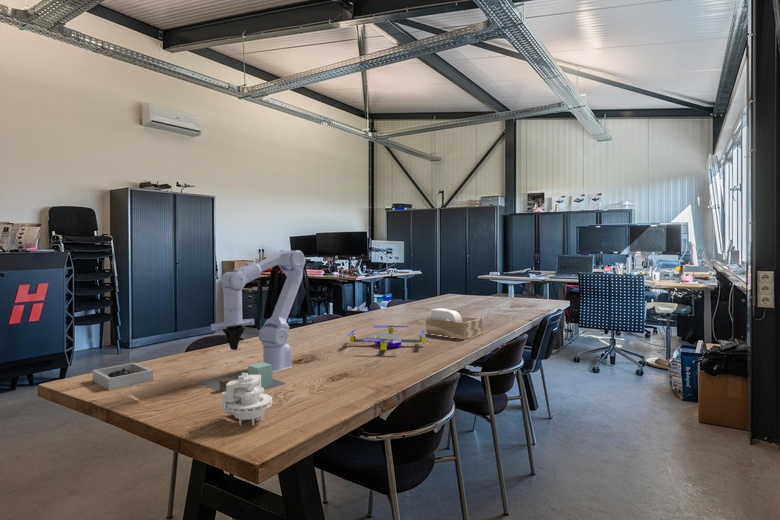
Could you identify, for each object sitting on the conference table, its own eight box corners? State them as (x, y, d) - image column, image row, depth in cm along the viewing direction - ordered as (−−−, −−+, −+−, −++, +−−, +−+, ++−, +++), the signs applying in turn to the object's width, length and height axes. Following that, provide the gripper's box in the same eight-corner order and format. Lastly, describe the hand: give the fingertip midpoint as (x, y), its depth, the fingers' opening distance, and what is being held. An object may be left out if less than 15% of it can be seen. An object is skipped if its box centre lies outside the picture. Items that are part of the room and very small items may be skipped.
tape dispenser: (431, 334, 225) (431, 309, 225) (445, 331, 232) (444, 307, 232) (456, 338, 213) (455, 312, 213) (469, 335, 220) (469, 310, 220)
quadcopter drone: (357, 334, 217) (357, 324, 216) (426, 335, 213) (426, 325, 213) (342, 350, 183) (342, 338, 183) (424, 352, 180) (424, 339, 179)
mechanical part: (253, 432, 106) (252, 382, 105) (213, 425, 110) (212, 378, 110) (281, 415, 116) (281, 370, 116) (244, 410, 120) (243, 366, 120)
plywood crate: (445, 329, 236) (445, 314, 236) (482, 334, 222) (482, 318, 221) (426, 334, 223) (426, 318, 223) (464, 340, 209) (464, 323, 209)
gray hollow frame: (135, 372, 159) (134, 362, 159) (153, 380, 149) (152, 370, 149) (92, 380, 149) (92, 370, 149) (109, 390, 139) (108, 379, 139)
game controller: (106, 376, 152) (120, 362, 154) (119, 385, 154) (133, 371, 156) (102, 383, 143) (118, 369, 145) (117, 393, 145) (131, 379, 147)
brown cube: (227, 388, 138) (227, 378, 138) (231, 389, 136) (231, 380, 136) (219, 390, 136) (219, 380, 136) (223, 391, 134) (223, 382, 134)
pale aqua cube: (263, 382, 143) (262, 362, 143) (272, 385, 140) (272, 364, 140) (248, 386, 139) (248, 365, 139) (257, 389, 136) (257, 368, 136)
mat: (246, 372, 158) (246, 370, 158) (287, 385, 142) (287, 383, 142) (196, 384, 145) (196, 382, 145) (235, 399, 129) (235, 397, 129)
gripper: (218, 311, 139) (219, 355, 140) (259, 306, 150) (259, 347, 151) (207, 309, 144) (208, 351, 144) (247, 305, 155) (248, 344, 155)
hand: (233, 349), depth 148 cm, fingers closed
